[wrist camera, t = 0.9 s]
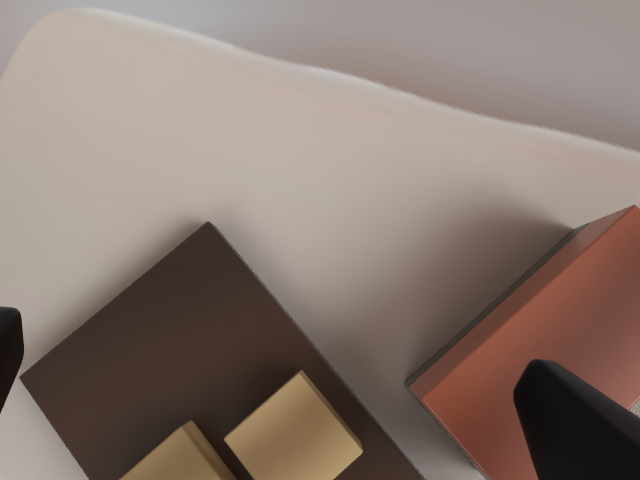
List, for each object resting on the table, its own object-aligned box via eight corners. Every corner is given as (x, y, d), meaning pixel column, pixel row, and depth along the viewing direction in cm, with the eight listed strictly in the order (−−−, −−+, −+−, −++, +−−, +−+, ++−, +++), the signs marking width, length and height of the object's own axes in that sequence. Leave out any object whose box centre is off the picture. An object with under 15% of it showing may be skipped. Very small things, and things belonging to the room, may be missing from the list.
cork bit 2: (362, 442, 20) (363, 452, 18) (290, 507, 20) (286, 522, 18) (301, 368, 21) (298, 372, 19) (231, 430, 20) (222, 439, 19)
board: (503, 572, 20) (513, 588, 19) (306, 763, 19) (304, 792, 18) (214, 225, 23) (207, 220, 22) (34, 374, 22) (17, 377, 21)
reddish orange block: (654, 308, 22) (740, 304, 17) (479, 472, 21) (520, 515, 16) (574, 228, 22) (635, 203, 18) (402, 382, 21) (420, 398, 17)
